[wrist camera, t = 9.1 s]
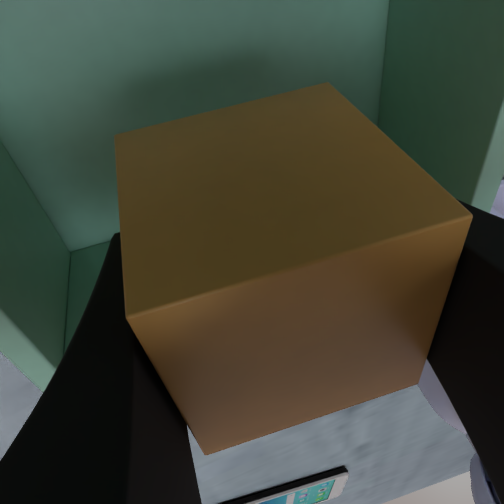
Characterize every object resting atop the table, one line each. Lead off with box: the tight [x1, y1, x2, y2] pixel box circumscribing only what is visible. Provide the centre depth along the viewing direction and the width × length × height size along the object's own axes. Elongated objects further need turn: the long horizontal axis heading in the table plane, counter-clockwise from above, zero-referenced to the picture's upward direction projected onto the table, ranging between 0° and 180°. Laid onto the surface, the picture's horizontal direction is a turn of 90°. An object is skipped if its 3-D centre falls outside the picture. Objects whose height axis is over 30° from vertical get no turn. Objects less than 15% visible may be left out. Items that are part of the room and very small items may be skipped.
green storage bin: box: [0, 0, 504, 392], centre depth 11 cm, size 12×14×6 cm
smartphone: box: [226, 467, 349, 504], centre depth 45 cm, size 8×1×15 cm
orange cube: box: [114, 82, 473, 455], centre depth 9 cm, size 5×5×5 cm
